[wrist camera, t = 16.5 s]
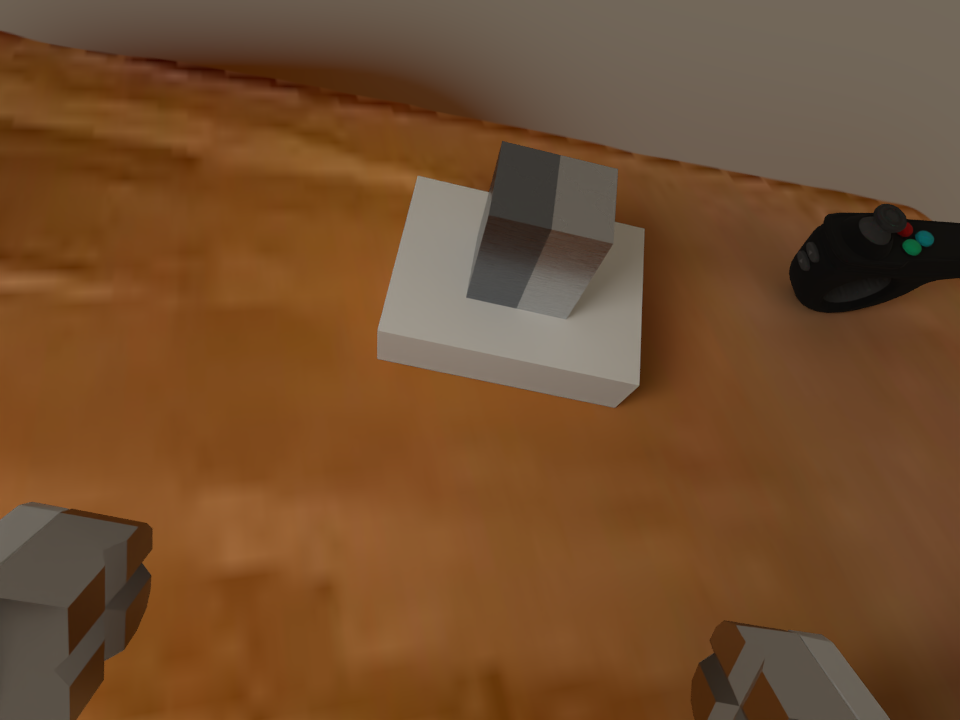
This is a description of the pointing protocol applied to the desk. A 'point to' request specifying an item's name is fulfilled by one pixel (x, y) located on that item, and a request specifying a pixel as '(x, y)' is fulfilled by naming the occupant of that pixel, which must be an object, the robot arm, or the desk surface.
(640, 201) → the desk surface
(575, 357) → the stand
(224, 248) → the desk surface
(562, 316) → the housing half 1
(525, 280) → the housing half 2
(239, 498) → the desk surface
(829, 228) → the controller
